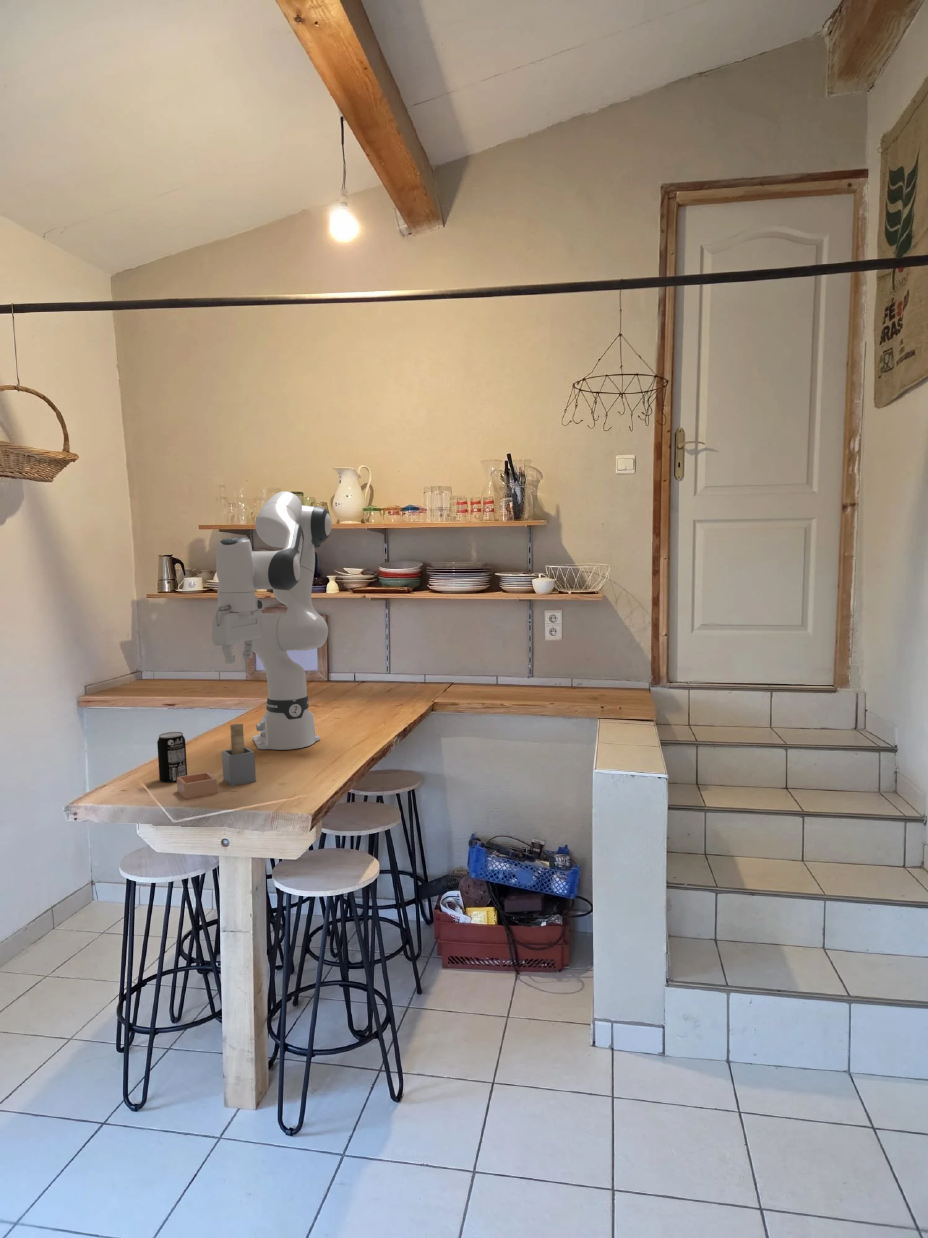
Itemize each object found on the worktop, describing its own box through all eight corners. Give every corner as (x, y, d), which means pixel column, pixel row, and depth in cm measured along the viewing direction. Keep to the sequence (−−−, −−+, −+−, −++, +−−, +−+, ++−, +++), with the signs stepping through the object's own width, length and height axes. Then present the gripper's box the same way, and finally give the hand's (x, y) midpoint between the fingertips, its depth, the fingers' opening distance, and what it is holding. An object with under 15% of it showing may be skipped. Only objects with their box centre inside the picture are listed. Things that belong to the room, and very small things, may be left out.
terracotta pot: (177, 793, 188) (176, 777, 188) (208, 787, 192) (208, 771, 192) (184, 801, 182) (184, 784, 181) (217, 795, 186) (216, 778, 185)
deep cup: (223, 782, 196) (221, 750, 196) (248, 778, 200) (246, 747, 199) (230, 788, 191) (229, 756, 190) (255, 783, 194) (254, 752, 194)
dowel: (231, 780, 196) (228, 724, 194) (243, 778, 197) (240, 723, 196) (235, 783, 193) (232, 727, 192) (247, 781, 195) (244, 725, 194)
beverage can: (166, 777, 202) (163, 731, 201) (191, 777, 202) (188, 731, 201) (155, 785, 195) (152, 737, 194) (181, 785, 195) (178, 737, 194)
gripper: (229, 606, 181) (231, 666, 182) (266, 601, 201) (268, 655, 202) (203, 606, 182) (206, 666, 183) (243, 602, 202) (245, 655, 203)
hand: (239, 660), depth 193 cm, fingers open, 8 cm apart
